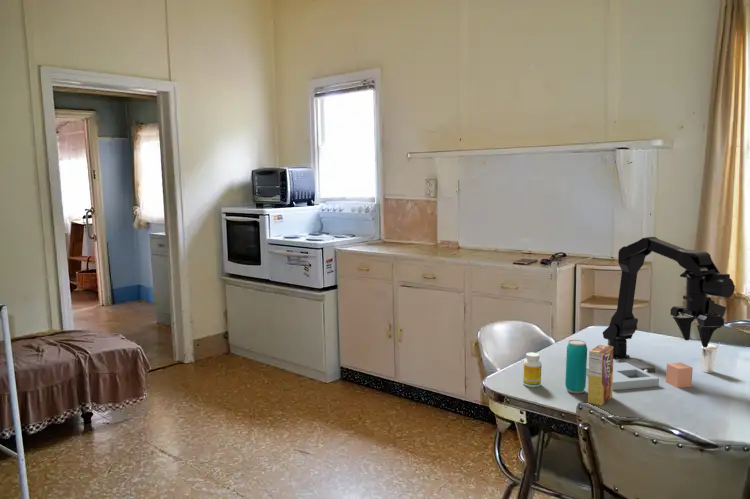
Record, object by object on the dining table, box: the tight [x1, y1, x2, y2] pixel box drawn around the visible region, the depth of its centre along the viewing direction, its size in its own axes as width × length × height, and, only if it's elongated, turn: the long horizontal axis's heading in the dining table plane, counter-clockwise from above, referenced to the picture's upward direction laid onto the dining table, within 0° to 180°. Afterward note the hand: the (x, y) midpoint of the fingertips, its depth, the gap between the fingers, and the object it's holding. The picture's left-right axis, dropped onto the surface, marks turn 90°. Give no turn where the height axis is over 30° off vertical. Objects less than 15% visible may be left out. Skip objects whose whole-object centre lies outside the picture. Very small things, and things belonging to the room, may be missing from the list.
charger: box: [665, 362, 693, 389], centre depth 187 cm, size 5×5×6 cm
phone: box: [620, 358, 656, 373], centre depth 203 cm, size 10×6×1 cm, turn 13°
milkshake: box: [700, 342, 721, 374], centre depth 198 cm, size 4×5×10 cm
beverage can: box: [564, 339, 588, 395], centre depth 180 cm, size 6×6×15 cm
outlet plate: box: [586, 362, 660, 391], centre depth 191 cm, size 16×16×2 cm
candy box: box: [587, 343, 614, 407], centre depth 173 cm, size 9×4×15 cm, turn 140°
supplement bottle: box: [522, 351, 542, 388], centre depth 186 cm, size 5×5×10 cm
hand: (695, 343), depth 186 cm, fingers open, 9 cm apart
